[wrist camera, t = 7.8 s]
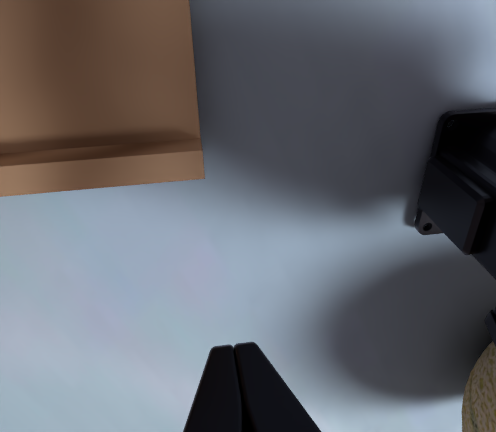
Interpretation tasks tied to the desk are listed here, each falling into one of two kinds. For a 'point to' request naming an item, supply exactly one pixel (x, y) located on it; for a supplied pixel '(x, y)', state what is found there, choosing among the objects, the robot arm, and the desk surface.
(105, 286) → the desk surface
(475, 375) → the cantaloupe
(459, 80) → the desk surface
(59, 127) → the channel
